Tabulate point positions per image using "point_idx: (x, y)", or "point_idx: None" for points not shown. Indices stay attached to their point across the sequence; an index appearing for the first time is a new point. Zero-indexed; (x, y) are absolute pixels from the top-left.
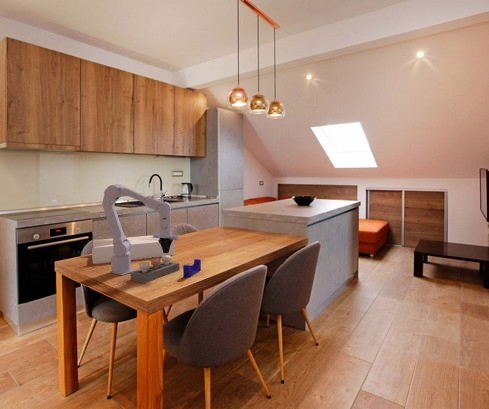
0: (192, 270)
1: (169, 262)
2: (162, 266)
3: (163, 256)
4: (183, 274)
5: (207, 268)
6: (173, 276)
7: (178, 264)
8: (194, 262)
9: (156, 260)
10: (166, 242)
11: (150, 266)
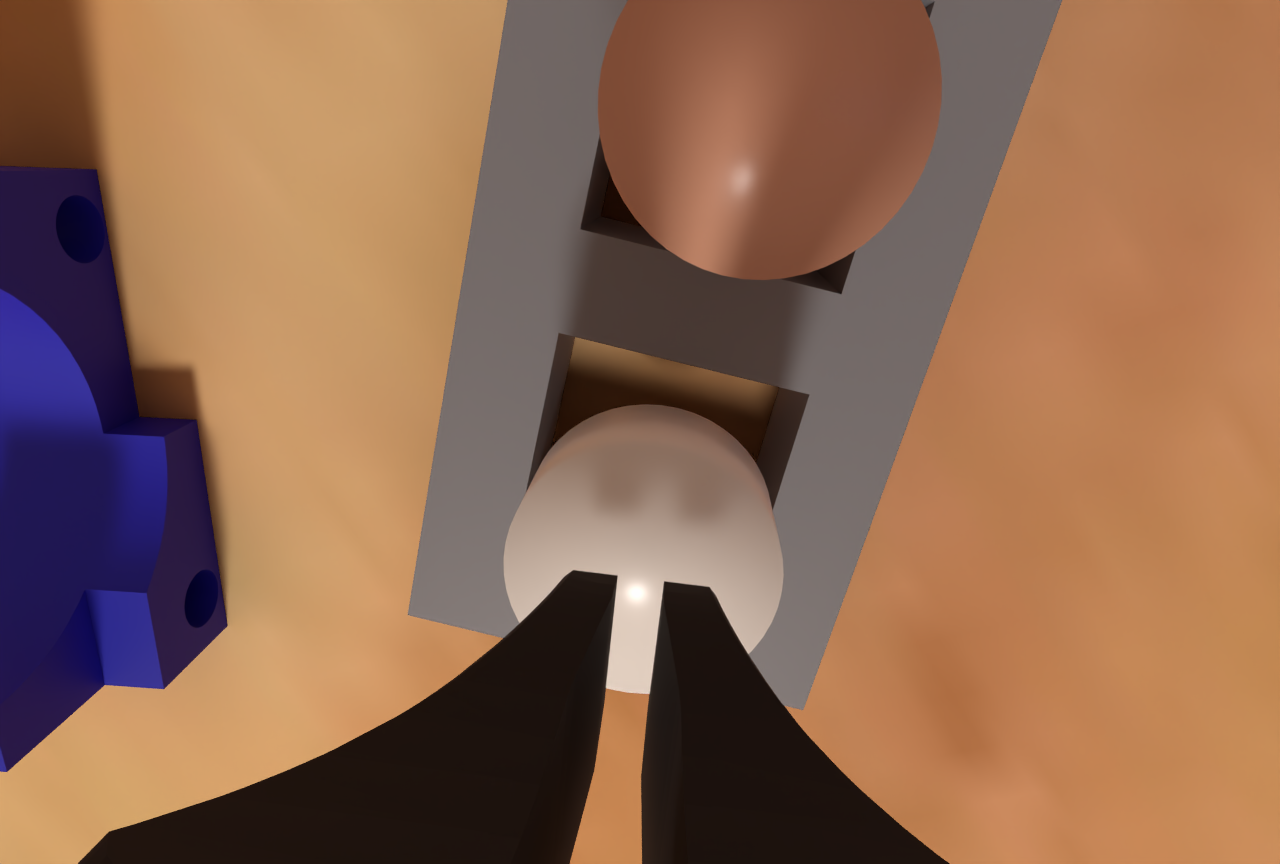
0: (62, 462)
1: None
2: (634, 273)
3: (726, 550)
4: (50, 171)
5: (48, 738)
6: (309, 144)
7: (418, 583)
8: (25, 661)
9: (677, 22)
10: (173, 827)
11: (957, 170)
